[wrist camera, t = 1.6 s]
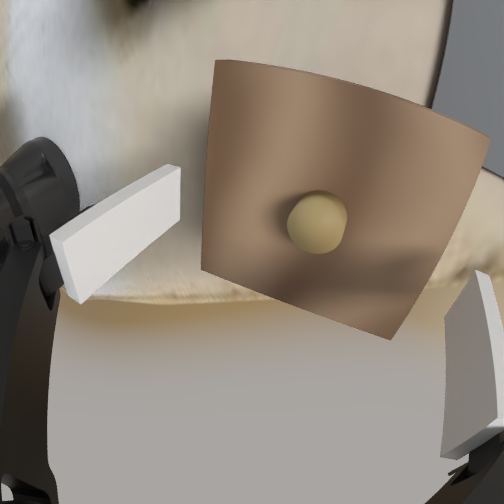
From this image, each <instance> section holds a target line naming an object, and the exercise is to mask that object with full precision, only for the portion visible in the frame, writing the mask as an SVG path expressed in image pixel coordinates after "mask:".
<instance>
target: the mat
mask: <svg viewBox="0 0 504 504" xmlns="http://www.w3.org/2000/svg"><path fill="white" fill-rule="evenodd" d="M431 109H432V110H434V111H437V112H439V113H442V114H444V115H446V116H449V117H451V118H453V119H456V120H458V121H460V122H462V123H464V124H466V125H469V126H471V127H473V128H475V129H477V130H479V131H481V132H483V133H484V134H486V135H487V136H488V137H490V138H491V142H490V145H489V148H488V151H487V154H486V156H485V159H484V162H483V165H482V166H483V167H485V168H487V169H489V170H491V171H492V172H494V173H496V174H498V175H500V176H502V177H504V0H452V8H451V15H450V21H449V27H448V33H447V39H446V44H445V49H444V54H443V59H442V64H441V68H440V73H439V77H438V81H437V85H436V90H435V94H434V97H433V101H432V105H431Z"/></svg>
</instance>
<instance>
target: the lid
mask: <svg viewBox="0 0 504 504" xmlns="http://www.w3.org/2000/svg"><path fill="white" fill-rule="evenodd" d="M490 142H491V138H490V137H488V136H487V135H486V134H484V133H483V132H481V131H479V130H477V129H475V128H473V127H471V126H469V125H466V124H464V123H462V122H460V121H458V120H456V119H453V118H451V117H449V116H446V115H444V114H442V113H439V112H437V111H434V110H432V109H429V108H427V107H424V106H422V105H419V104H416V103H414V102H411V101H408V100H406V99H403V98H400V97H397V96H394V95H391V94H388V93H385V92H382V91H379V90H375V89H372V88H369V87H365V86H362V85H359V84H355V83H351V82H348V81H344V80H340V79H336V78H332V77H328V76H324V75H319V74H315V73H310V72H305V71H301V70H295V69H290V68H285V67H279V66H273V65H267V64H260V63H253V62H245V61H237V60H215V67H214V76H213V86H212V97H211V107H210V119H209V131H208V143H207V157H206V172H205V188H204V206H203V227H202V253H201V270H203V271H206V272H208V273H211V274H213V275H216V276H218V277H221V278H223V279H226V280H228V281H231V282H233V283H236V284H238V285H241V286H243V287H246V288H249V289H251V290H254V291H256V292H259V293H262V294H264V295H267V296H269V297H272V298H275V299H277V300H280V301H283V302H285V303H288V304H291V305H293V306H296V307H299V308H301V309H304V310H307V311H310V312H312V313H315V314H318V315H320V316H323V317H326V318H329V319H331V320H334V321H337V322H340V323H343V324H346V325H348V326H351V327H354V328H357V329H359V330H362V331H365V332H368V333H371V334H374V335H377V336H379V337H382V338H385V339H388V340H391V339H392V338H393V336H394V335H395V333H396V332H397V330H398V329H399V327H400V326H401V324H402V322H403V321H404V319H405V318H406V317H407V315H408V313H409V312H410V310H411V308H412V307H413V305H414V304H415V302H416V300H417V299H418V297H419V295H420V294H421V292H422V290H423V289H424V287H425V285H426V283H427V282H428V280H429V278H430V276H431V275H432V273H433V271H434V269H435V267H436V266H437V264H438V262H439V260H440V258H441V256H442V254H443V252H444V250H445V249H446V247H447V245H448V243H449V241H450V239H451V237H452V235H453V232H454V230H455V228H456V226H457V224H458V222H459V220H460V218H461V215H462V213H463V211H464V209H465V207H466V204H467V202H468V200H469V197H470V195H471V193H472V190H473V188H474V185H475V183H476V180H477V178H478V175H479V173H480V170H481V167H482V165H483V162H484V159H485V156H486V154H487V151H488V148H489V145H490Z"/></svg>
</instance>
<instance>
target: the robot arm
mask: <svg viewBox="0 0 504 504" xmlns="http://www.w3.org/2000/svg"><path fill="white" fill-rule="evenodd" d="M180 175H181V167H177V166H174V165H170V164H166V165H164V166H162V167H160V168H158V169H156V170H154V171H153V172H151V173H149V174H147V175H145V176H144V177H142V178H140V179H138V180H136V181H135V182H133V183H131V184H129V185H128V186H126V187H124V188H122V189H121V190H119V191H117V192H116V193H114V194H112V195H111V196H109V197H107V198H106V199H104V200H102V201H101V202H99V203H97V204H95V205H92V206H89V207H87V208H85V209H83V210H82V211H80V212H79V195H78V190H77V185H76V182H75V178H74V175H73V173H72V170H71V168H70V166H69V164H68V162H67V160H66V158H65V156H64V155H63V153H62V152H61V150H60V149H59V148H58V147H57V146H56V145H55V144H54V143H53V142H52V141H51V140H49V139H47V138H45V137H38V138H35V139H33V140H31V141H28V142H26V143H25V144H23V145H22V146H21V147H20V148H19V149H18V150H17V151H16V152H15V153H14V154H13V155H12V156H11V157H10V158H9V159H8V160H7V161H6V162H5V163H4V164H3V165H2V166H1V167H0V504H59V502H58V493H57V485H56V481H55V478H54V475H53V473H52V471H51V469H50V467H49V464H48V455H47V409H48V389H49V375H50V364H51V354H52V346H53V339H54V331H55V325H56V318H57V312H58V307H59V301H60V290H59V288H60V287H61V286H62V285H65V288H66V291H67V294H68V296H69V297H71V298H72V299H74V300H75V301H77V302H78V303H80V304H82V303H83V302H84V301H85V300H86V299H87V298H89V297H90V296H91V295H92V294H93V293H94V292H95V291H96V290H97V289H99V288H100V287H101V286H102V285H103V284H104V283H105V282H106V281H108V280H109V279H110V278H111V277H112V276H113V275H114V274H116V273H117V272H118V271H119V270H120V269H121V268H122V267H124V266H125V265H126V264H127V263H128V262H129V261H131V260H132V259H133V258H134V257H135V256H137V255H138V254H139V253H140V252H141V251H142V250H144V249H145V248H146V247H147V246H148V245H150V244H151V243H152V242H153V241H155V240H156V239H157V238H158V237H159V236H161V235H162V234H163V233H164V232H166V231H167V230H168V229H169V228H170V227H172V226H173V225H174V224H175V223H177V222H178V221H179V220H180ZM444 320H445V340H446V390H445V411H444V425H443V435H442V444H441V452H440V457H444V458H449V459H455V460H458V459H460V458H462V457H463V456H465V455H467V454H468V453H469V461H468V462H467V463H465V464H464V465H462V466H460V467H458V468H456V469H454V470H452V471H451V472H450V473H448V475H449V476H450V475H452V474H454V473H455V474H454V475H453V476H452V477H451V478H450V480H449V481H448V482H447V483H446V484H445V485H444V486H443V487H442V488H441V489H440V490H439V491H438V492H437V493H436V494H435V495H434V496H432V498H430V499H429V500H428V501H427V502H426V503H425V504H504V331H503V327H502V322H501V318H500V314H499V310H498V306H497V302H496V298H495V294H494V291H493V287H492V284H491V280H490V277H489V275H486V274H484V273H482V272H480V271H477V270H475V271H474V272H473V274H472V276H471V277H470V279H469V280H468V282H467V284H466V285H465V287H464V288H463V290H462V292H461V293H460V295H459V296H458V298H457V299H456V301H455V302H454V304H453V305H452V307H451V308H450V310H449V311H448V313H447V314H446V316H445V318H444ZM1 483H3V484H5V485H7V486H8V487H9V488H10V489H11V491H12V494H13V498H14V500H13V501H2V495H1Z"/></svg>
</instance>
